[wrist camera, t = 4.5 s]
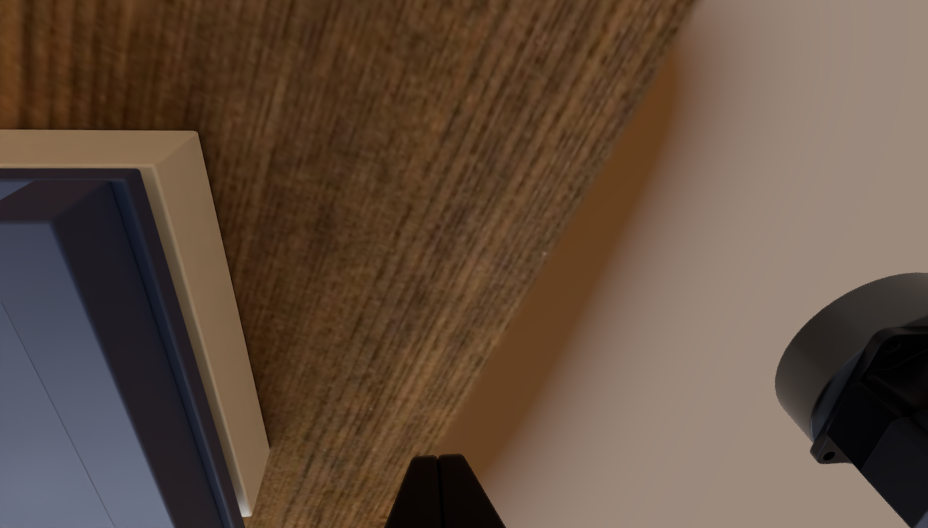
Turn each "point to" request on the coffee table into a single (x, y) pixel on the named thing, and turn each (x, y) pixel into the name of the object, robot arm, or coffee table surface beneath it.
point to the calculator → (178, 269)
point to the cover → (98, 364)
